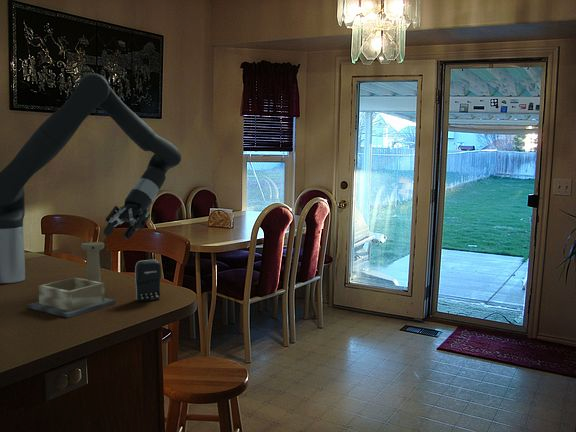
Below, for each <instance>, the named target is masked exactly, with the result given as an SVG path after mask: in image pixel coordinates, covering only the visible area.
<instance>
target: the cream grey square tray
mask: <svg viewBox="0 0 576 432" xmlns="http://www.w3.org/2000/svg"><path fill="white" fill-rule="evenodd" d="M105 293H106V292H105V282H96V281H91V280H87V278H81V277H80V278H79V277H71V278H65V279H61V280H57V281H52V282H49V283H44V284H40V285H38V301H35V302H30V303H28V304H27V308H28V309H31V310H35V311H39V312H43V313H47V314H50V315H51V314H52V315H55V316H58V317H59V316H60V317H63V318H68V319H69V318H72V317H76V316H80V315H83V314H85V313H88V312H89V313H90V312H92V311H95V310H96V311H97V310H99V309H102V308H105V307H109V306H112V305H115V304H116V300H115V299H112V298H106V297H105Z"/></svg>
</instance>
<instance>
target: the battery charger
mask: <svg viewBox="0 0 576 432" xmlns="http://www.w3.org/2000/svg"><path fill="white" fill-rule="evenodd" d="M134 268H135V269H134V277H135V278H134V280H135V300H136V301H139V302H149V301H156V300H159V299H160V298H161V293H160V290H161V289H160V285H161V279H162V265H161V263H160V262H159V261H158V260H157V259H146V260H139V261H137V262H136V264H135V267H134Z"/></svg>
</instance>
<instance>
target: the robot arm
mask: <svg viewBox="0 0 576 432" xmlns="http://www.w3.org/2000/svg"><path fill="white" fill-rule="evenodd" d="M97 108H99V109H100V110H102V111H103V112H104V113H106V114H107V116H108V117H110V118H111V119H112V120H113V121H114V122H115V123H116V124H117V126H118V127H119V128H120V129H121V131H122V132H123V133H124V134H126V136H127V137H128V138H129V139H130V140H131V141H133V143H135V144H136V146H138V147H139V148H140V149H141V150H142V151H145V152H151V153H153V156H151V158H150V160H149V162H148V165H147V167H146V169H145V170H144V172H143V174H142V175H141V176H140V177H139V180H138V181H137V182H136V183H135V184H134V186H133V187H132V189H130V191H129V193H128V195H127V196H126V197H125V199H124V205H123V206H122V207H118V206H117V205H114V206H113V208H112V209H111V211H110V212H109V214H108V215H107V216H106V218H104V219H105V221H106V223H107V225H106V227H105V228H104V229H103V232H102V233H103V234H104V235H105V237H110V235H111V234H112V232H113V231H114V229H116V228H115V227H117V226H118V225H122V224H123V223H129V225H128V227H127V229H126V230H125V232H124V233H123V237H124V238H125V240H130V238H132V236H133V235H134V233H135V231H137V230H143V229H144V227H145V225H146V224H147V222H148V221H149V218H150V217H151V214H150V212H149V211H148V210H149V209H150V206H151V205H152V204H153V202H154V201H155V199H156V197H157V195H158V193H159V191H160V190H161V188H162V186H163V185H164V183H165V181H166V179H167V178H166V173H167V172H168V170H170V169H172V168H175V167H176V166H178V165H180V163H181V162H182V156H181V155H182V154H181V152H180V150H179V149H178V147H176V146H175V144H173V143H172V142H170V141H169V140H167V139H166V138H163V137H162V136H160V135H159V134H157V133H156V132H155V130H153V129H152V128H151V127H150V126H149V125H148V124H147V123H146V122H145V121H144V120H143V119H142V118H140V116H138V115H137V114H136V113H135V112H134V111H133V110H132V109H131V108H129V106H127V104H125V103H124V102H123V100H121V98H120V97H119V96H118V95H117V94H116V93H115V91H114V90H113V88H112V87H111V86H110V84H109V82H108V80H107V79H106V78H105V76H103V75H102V74H100V73H96V72H89V73H86V74H84V75H83V76H82V77H81V78H80V80H79V83H78V84H77V85H76V88H75V89H74V91H73V92H72V93H71V95H70V96H69V97H68V99H67V100H66V101H65V102H64V103H63V105H61V107H59V108H58V109H57V110H56V111H54V112H53V113H51V115H50V116H49V117H48V118H46V119H45V120H44V121H43V122H42V123H41V124H40V125H39V126H38V127H37V129H36V130H35V131H34V132H33V134H31V136H30V137H29V138H28V139H27V141H26V142H25V144H23V146H22V147H21V148H20V149H19V151H18V152H17V153H16V155H15V156H14V158H13V159H12V160H11V161H10V162H9V163H8V164H7V165H6V166H5V167H4V168H3V169H2V170H1V171H0V284H12V283H18V282H23V281H24V280H26V265H25V263H26V262H25V238H24V237H25V236H24V235H25V234H24V218H25V214H26V213H25V212H26V211H25V209H26V206H25V203H26V201H25V195H26V194H25V188H24V186H25V185H26V184H27V182H28V181H29V180H30V179H31V178H32V177H33V176H34V175H35V174H36V173H38V172H39V171H40V170H41V169H43V168H44V167H45V166H46V165H48V164H49V163H50V162H51V161H52V160H53V159H54V158H55V157H57V155H58V154H59V153H60V152H61V151H62V150H63V149H64V147H65V146H66V145H67V144H68V143H69V142H70V140H71V139H72V138H73V136H74V135H75V133H76V132H77V131H78V129H79V128H80V126H81V125H82V124H83V122H84V121H85V119H86V118H87V117H89V115H91V114H92V113H93V112H94V111H95V110H96V109H97Z"/></svg>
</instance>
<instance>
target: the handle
mask: <svg viewBox="0 0 576 432" xmlns="http://www.w3.org/2000/svg"><path fill="white" fill-rule="evenodd" d="M80 244H81V245H80V248H81V249H82V250H83V251H86V278H85V279H86V280H91V281H96V282H101V278H102V277H101V276H102V275H101V265H100V251H101V250H103V249H104V248H105V242H103V241H93V242H91V241H89V242H81V243H80ZM101 283H102V282H101Z"/></svg>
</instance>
